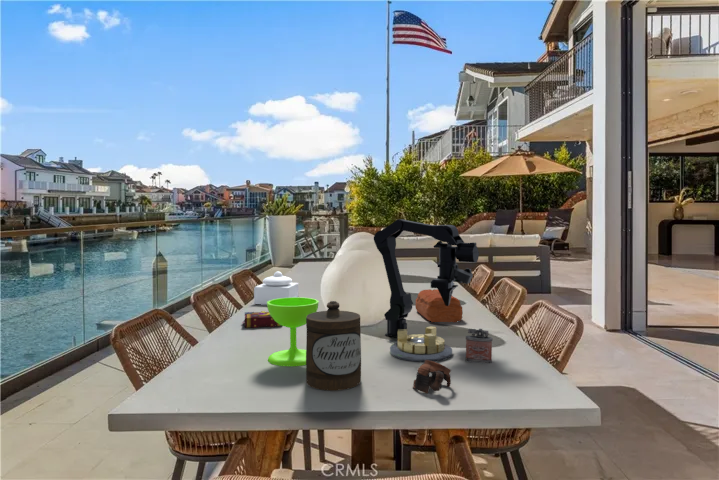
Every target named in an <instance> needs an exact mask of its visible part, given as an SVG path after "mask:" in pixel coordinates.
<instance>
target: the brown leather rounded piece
mask: <svg viewBox="0 0 719 480" xmlns="http://www.w3.org/2000/svg"><path fill="white" fill-rule="evenodd" d="M451 371H452V370H451V369H450V368H449V367H446V366H445V365H443V364H441V363H439V362H437V361H435V362H433V361H429V360H425V361H424V362H423V364H421V365H419V367H418V368H417V373H416V377H415V379H414V380H413V385H412V388H413V389H415V390H417V391H419V392H423V393H425V394H426V395H427V394H429V390H430V389H431V391H433V392H439V391H440V389H441V387H442V384H443V381H445V382H446V387H447V388H449V387H450V386H451V384H452V383H451V381H452V380H451V374H450V373H451ZM430 374H431V375H430Z"/></svg>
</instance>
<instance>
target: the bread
mask: <svg viewBox="0 0 719 480" xmlns="http://www.w3.org/2000/svg"><path fill="white" fill-rule="evenodd" d="M414 304H415V310H416V312H418V313H419V314H420V316H422V317H423V318H424V319H426V320H427V321H429V322H430V321H431V322H430V323H433V322H453V323H458V322H457V321H460V322H461V321H462V320H463V306H462V305H461V300H459V298H457V297H455V296H454V295H452V296H451V300H450V304H449V306H445V304H444V301H443V299H442V297H441V295H440V293H439V291H438V289H437V288H433V289H422V290H420V291H419V292H418V294H417V297H416V299H415V303H414Z"/></svg>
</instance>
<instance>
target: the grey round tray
mask: <svg viewBox="0 0 719 480" xmlns="http://www.w3.org/2000/svg"><path fill="white" fill-rule="evenodd" d="M410 342H413V343H422V344H424V338H412V339H410ZM389 350H390V351H389V354H390V355H391V356H392V357H394V358H396V359H399V360H403V361H408V362H418V363H419V362H420V363H424V361H425V360H429V361H433V362H440V361H445V360H448V359H449V358H451V357H452V356H453V348H452V347H451V346H450V345H447V344H445V343H444V351H441V352H439V353H438V352H437V353H432V354H426V353H425V354H415V353H408V352H404V351H401V350H400V349H398V348H397V342H395V343H394V344H392V345H390V347H389Z"/></svg>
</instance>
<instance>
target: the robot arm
mask: <svg viewBox="0 0 719 480" xmlns="http://www.w3.org/2000/svg"><path fill="white" fill-rule="evenodd" d="M403 232H409V233H414V234H420V235H423V236H424V235H425V236H429V237H431V238H432V239H435V240H437V242H436V244H434V245H433V248H435V249H439V251H438V252H439V256H438V258H439V263H437V268H438V272H439V274H438V275H437V278H433V279H432V280H431V281H430V288H431V289H436V290H438V291H439V293H440V295H441V297H442V299H443V301H444V304H445V306H449V304H450V300H451V296H453V292H454V290H455V289H456V288H457V287H459V285H458V284H455V283H459V284H464V285H468V284H470V283H471V281H472V278H473V277H474V276H473V275H474V274H473V273H472V272H473V271H472V269H471V268H469V267H466V268H465V269H461V268H459V264H458V263H457V261H458V262H460V263H473V264H474V263H476V264H477V263H478V260H479V255H480V253H479V249H478V246H477V242H474V241H473V242H465V241H464V240H463V239H462V237H461V235H460V234H459V230H458V228H457V227H456V226H455V225H454V224H453V225H452V224H438V225H434V224H428V223H423V222H417V221H412V220H408V219H403V218H402V219H401V218H400V219H395V220H394V221H393V222H392V223H391V224H389V225H388V226H386V227H385V228H383V229H382V230H378V231H376V233H374V235H373V241H374V244H375V245H374V246H375V247H376V249H377V251H378V252H379V253H380V254H381V256H382V257H381V258H382V260H383V263H384V269H385V272H386V277H387V281H388V284H389V285H388V286H389V289H390V299H389V306H390V307H389V309H388V310H387V311H386V312H385V313H383V314H384V319H385V320H386V332H385V333H384V336H387V337H395V338H398V329H407V330H408V323H407V318H408V316H409V313H411V311H412V309H413V305H414V302H413V300H412V294H411V293H407V292H406V291H405V289H404V286H403V282H402V278H401V277H402V276H401V273H400V269H399V265H398V261H397V256H396V249H397V248H396V247H397V240H396V239H397V238H399V236H401V234H403ZM407 335H409V332H407Z"/></svg>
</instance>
